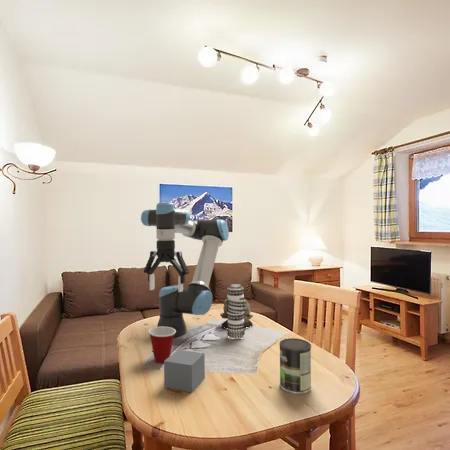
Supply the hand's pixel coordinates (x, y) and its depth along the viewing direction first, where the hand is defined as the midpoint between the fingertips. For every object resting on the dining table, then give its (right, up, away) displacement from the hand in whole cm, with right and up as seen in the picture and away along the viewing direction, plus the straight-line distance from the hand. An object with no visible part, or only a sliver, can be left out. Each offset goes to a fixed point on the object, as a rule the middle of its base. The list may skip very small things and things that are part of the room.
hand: (166, 290), depth 131 cm
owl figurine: (+31, -27, +37) cm, 55 cm away
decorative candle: (+30, -27, +20) cm, 45 cm away
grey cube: (+11, -27, -24) cm, 37 cm away
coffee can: (+48, -26, -27) cm, 61 cm away
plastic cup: (0, -27, -5) cm, 27 cm away
